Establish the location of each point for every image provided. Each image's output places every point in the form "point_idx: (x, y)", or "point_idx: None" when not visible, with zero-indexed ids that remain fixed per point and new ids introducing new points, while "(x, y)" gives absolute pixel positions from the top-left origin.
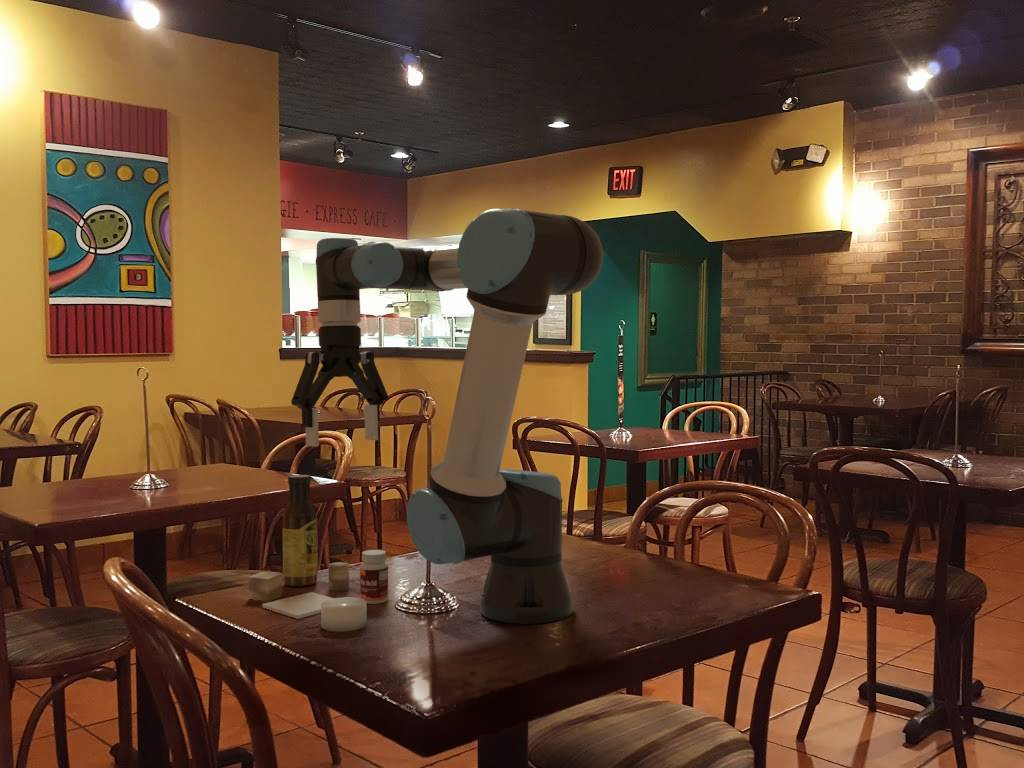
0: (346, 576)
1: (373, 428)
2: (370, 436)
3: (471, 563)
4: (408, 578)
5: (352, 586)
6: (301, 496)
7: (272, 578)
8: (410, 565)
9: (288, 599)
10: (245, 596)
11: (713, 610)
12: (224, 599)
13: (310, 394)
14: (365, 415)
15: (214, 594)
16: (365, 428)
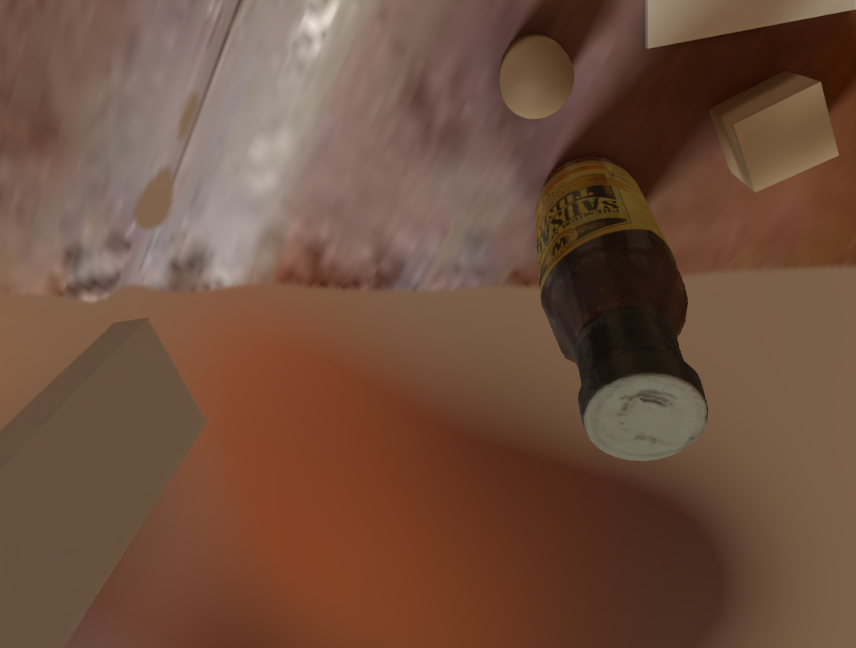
0: (524, 39)
1: (86, 408)
2: (159, 390)
3: (46, 80)
4: (293, 38)
5: (484, 67)
6: (649, 318)
7: (788, 96)
8: (226, 184)
9: (761, 6)
10: None
11: None
12: (846, 185)
13: None
14: (64, 625)
15: (822, 253)
16: (153, 496)
